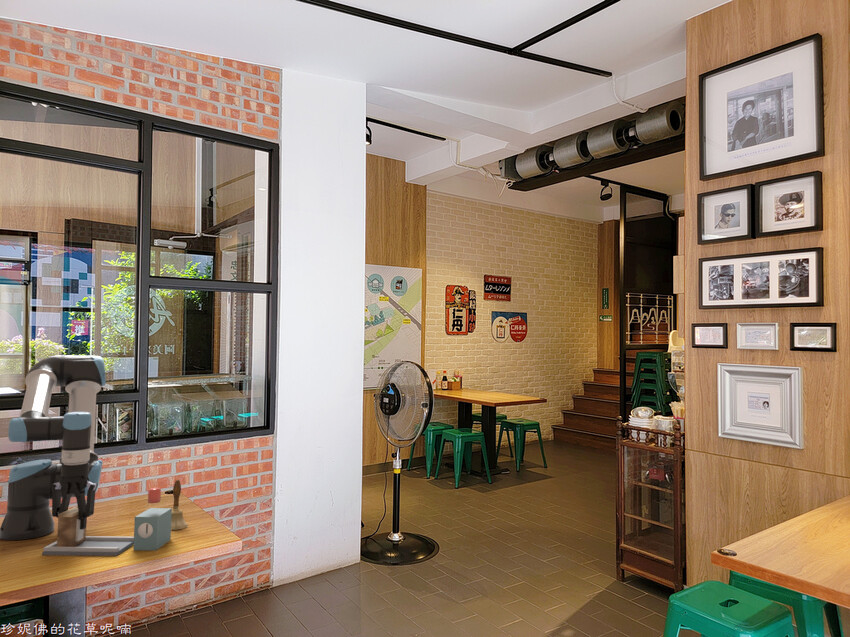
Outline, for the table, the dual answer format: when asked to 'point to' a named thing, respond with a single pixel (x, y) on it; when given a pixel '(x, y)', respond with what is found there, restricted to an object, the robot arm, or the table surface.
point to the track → (93, 546)
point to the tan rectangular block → (68, 528)
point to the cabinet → (152, 529)
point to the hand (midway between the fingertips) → (71, 539)
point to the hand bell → (177, 509)
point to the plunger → (154, 495)
